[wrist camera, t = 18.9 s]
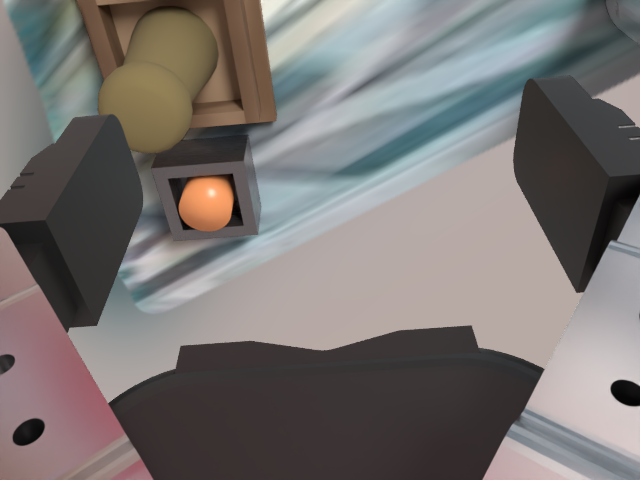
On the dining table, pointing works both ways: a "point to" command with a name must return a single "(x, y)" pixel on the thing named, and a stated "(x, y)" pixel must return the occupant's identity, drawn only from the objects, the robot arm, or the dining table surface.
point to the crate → (233, 46)
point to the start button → (207, 201)
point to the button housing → (203, 161)
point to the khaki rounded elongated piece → (160, 78)
